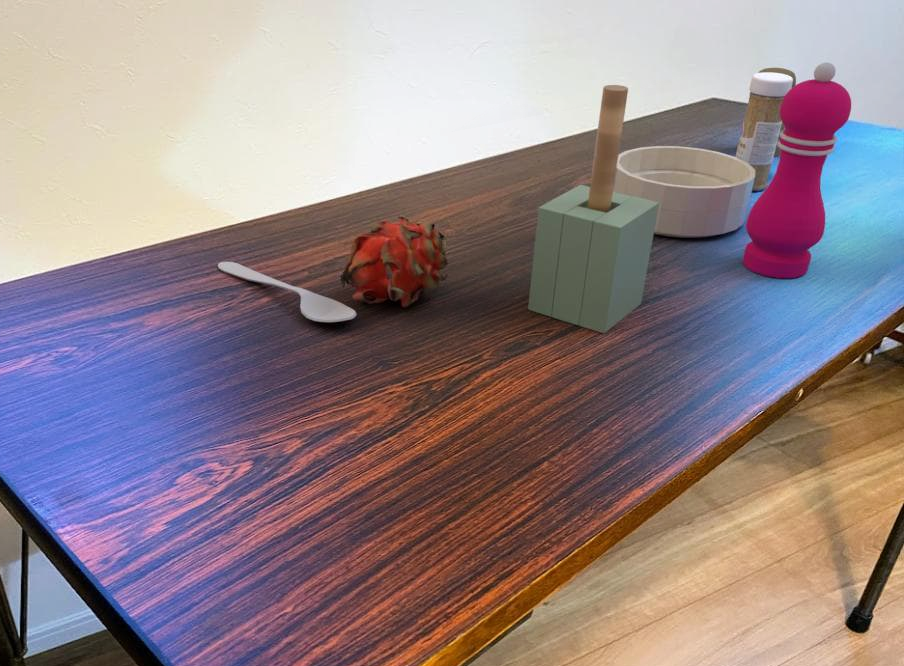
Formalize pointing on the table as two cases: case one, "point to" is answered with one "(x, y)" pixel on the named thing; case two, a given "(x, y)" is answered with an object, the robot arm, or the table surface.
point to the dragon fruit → (396, 262)
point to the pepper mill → (797, 178)
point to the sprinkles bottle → (762, 123)
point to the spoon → (310, 302)
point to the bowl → (688, 188)
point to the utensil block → (591, 258)
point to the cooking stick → (607, 147)
